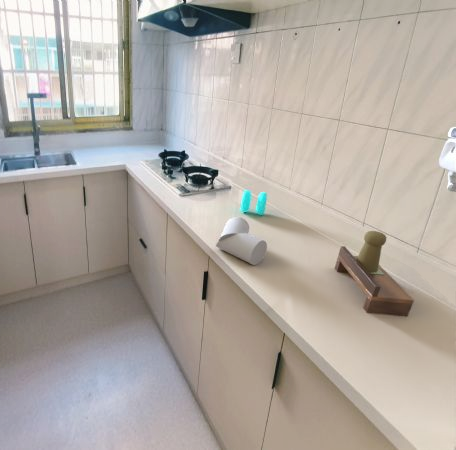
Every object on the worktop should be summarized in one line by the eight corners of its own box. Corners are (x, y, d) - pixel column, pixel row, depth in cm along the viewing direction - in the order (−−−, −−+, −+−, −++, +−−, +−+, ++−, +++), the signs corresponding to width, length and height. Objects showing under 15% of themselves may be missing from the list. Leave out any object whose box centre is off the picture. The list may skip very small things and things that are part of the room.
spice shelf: (367, 271, 106) (374, 248, 103) (407, 316, 86) (418, 290, 83) (334, 268, 107) (340, 246, 104) (366, 312, 87) (375, 286, 84)
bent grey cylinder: (198, 243, 117) (245, 267, 103) (205, 214, 114) (254, 234, 100) (228, 240, 129) (274, 261, 115) (236, 213, 126) (284, 232, 112)
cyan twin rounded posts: (241, 207, 154) (244, 186, 150) (264, 211, 151) (268, 189, 147) (239, 215, 146) (242, 193, 142) (263, 219, 143) (267, 196, 139)
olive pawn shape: (357, 270, 96) (368, 235, 91) (351, 260, 101) (361, 227, 97) (380, 274, 95) (393, 238, 90) (373, 263, 100) (385, 229, 96)
